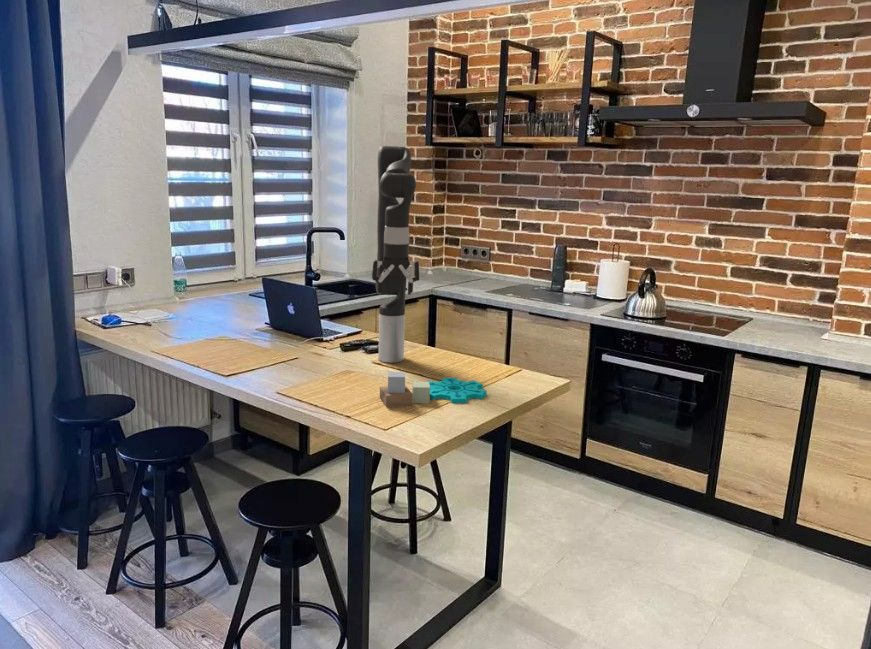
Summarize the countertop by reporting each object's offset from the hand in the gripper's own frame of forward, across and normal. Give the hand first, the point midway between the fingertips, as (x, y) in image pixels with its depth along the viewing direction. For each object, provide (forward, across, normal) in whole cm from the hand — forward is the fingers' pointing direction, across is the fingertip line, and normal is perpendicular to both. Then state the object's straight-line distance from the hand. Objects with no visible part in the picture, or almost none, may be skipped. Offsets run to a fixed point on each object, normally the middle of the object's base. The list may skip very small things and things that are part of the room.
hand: (395, 294), depth 201 cm
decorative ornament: (+31, -19, +4) cm, 37 cm away
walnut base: (+31, 0, +13) cm, 33 cm away
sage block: (+28, -10, +11) cm, 32 cm away
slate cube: (+27, 0, +12) cm, 29 cm away
